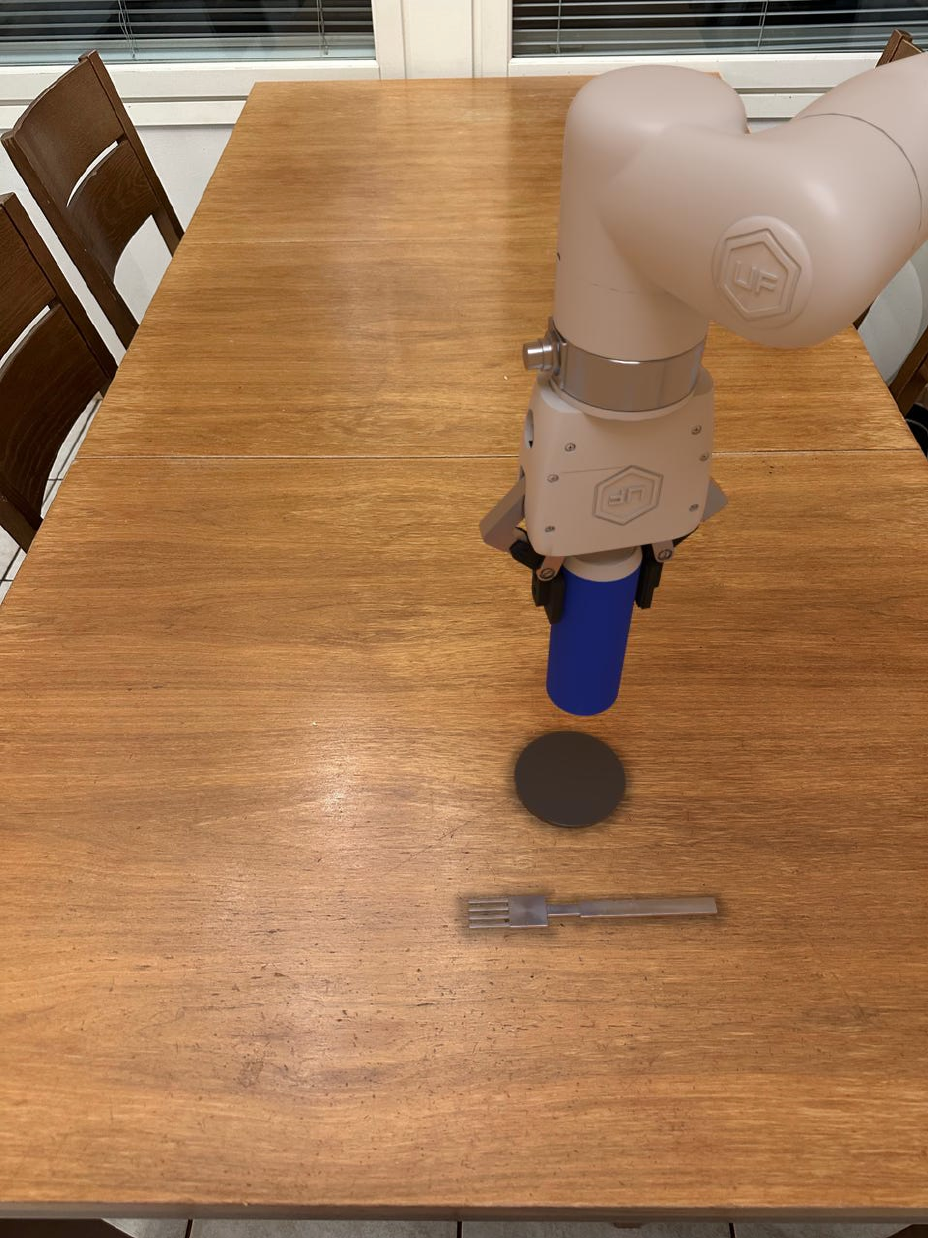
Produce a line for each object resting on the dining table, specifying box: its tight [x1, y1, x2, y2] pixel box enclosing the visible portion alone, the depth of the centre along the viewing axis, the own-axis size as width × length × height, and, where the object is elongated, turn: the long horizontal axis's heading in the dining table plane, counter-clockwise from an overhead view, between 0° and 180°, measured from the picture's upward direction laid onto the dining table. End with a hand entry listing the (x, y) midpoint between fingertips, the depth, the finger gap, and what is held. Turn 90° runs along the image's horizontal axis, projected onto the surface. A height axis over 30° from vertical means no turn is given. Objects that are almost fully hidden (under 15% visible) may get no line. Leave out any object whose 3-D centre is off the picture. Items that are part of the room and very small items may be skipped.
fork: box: [467, 894, 719, 930], centre depth 69 cm, size 18×2×1 cm, turn 92°
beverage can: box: [545, 545, 642, 718], centre depth 62 cm, size 5×5×15 cm
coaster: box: [513, 730, 627, 829], centre depth 77 cm, size 9×9×1 cm
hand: (593, 598), depth 61 cm, fingers closed on beverage can, 5 cm apart
